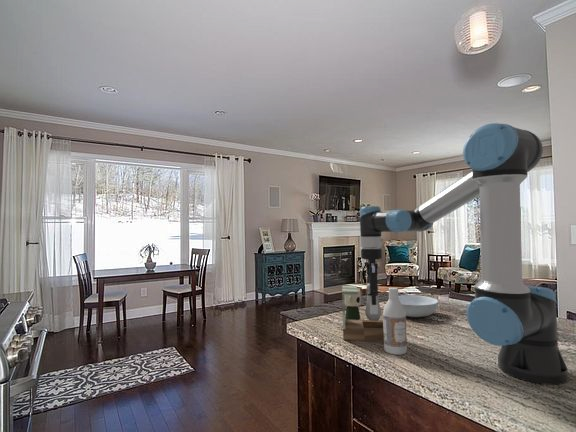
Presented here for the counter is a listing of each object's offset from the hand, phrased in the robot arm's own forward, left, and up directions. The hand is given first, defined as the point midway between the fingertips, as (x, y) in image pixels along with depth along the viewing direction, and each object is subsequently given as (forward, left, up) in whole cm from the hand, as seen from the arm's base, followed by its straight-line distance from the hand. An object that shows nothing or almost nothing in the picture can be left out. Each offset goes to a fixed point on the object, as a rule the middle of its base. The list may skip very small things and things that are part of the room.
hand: (373, 311), depth 118 cm
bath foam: (-14, -5, -9) cm, 18 cm away
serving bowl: (+31, -20, -9) cm, 38 cm away
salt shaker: (0, 0, -3) cm, 3 cm away
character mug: (+19, +7, -9) cm, 22 cm away
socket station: (0, +3, -9) cm, 9 cm away
